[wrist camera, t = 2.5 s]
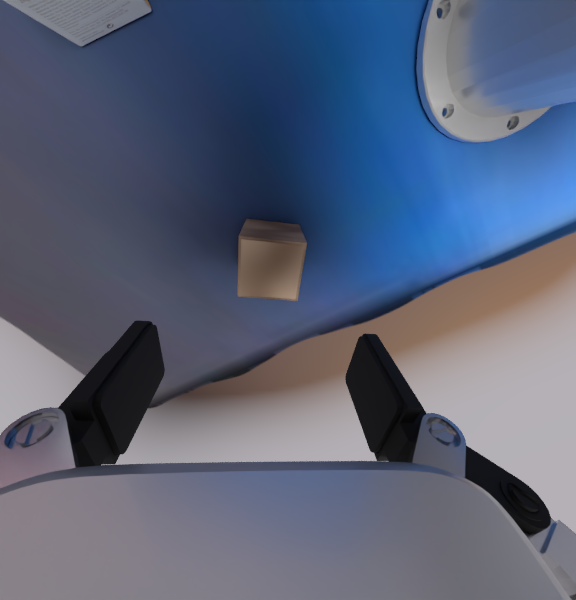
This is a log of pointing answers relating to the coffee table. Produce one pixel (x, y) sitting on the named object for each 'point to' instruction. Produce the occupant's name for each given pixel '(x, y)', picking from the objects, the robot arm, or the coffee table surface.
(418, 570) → the robot arm
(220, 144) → the coffee table surface
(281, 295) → the walnut block
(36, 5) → the small box
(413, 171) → the coffee table surface
